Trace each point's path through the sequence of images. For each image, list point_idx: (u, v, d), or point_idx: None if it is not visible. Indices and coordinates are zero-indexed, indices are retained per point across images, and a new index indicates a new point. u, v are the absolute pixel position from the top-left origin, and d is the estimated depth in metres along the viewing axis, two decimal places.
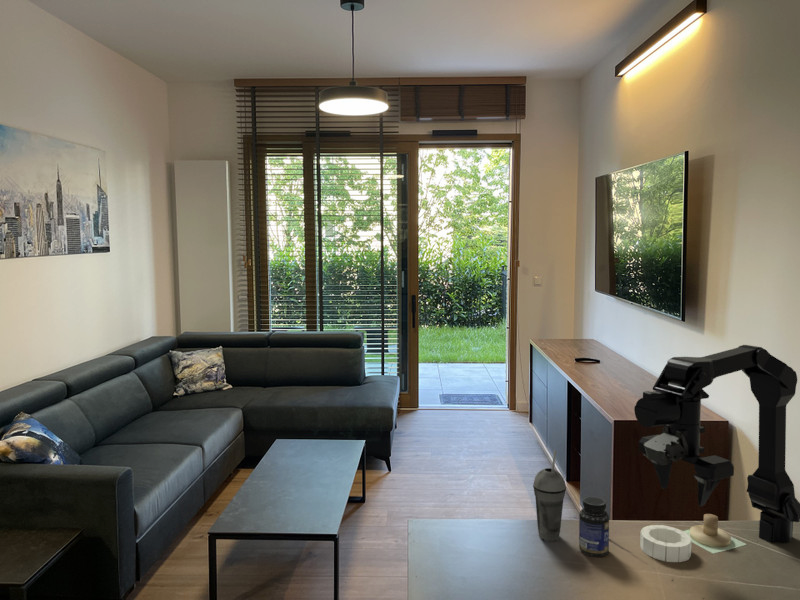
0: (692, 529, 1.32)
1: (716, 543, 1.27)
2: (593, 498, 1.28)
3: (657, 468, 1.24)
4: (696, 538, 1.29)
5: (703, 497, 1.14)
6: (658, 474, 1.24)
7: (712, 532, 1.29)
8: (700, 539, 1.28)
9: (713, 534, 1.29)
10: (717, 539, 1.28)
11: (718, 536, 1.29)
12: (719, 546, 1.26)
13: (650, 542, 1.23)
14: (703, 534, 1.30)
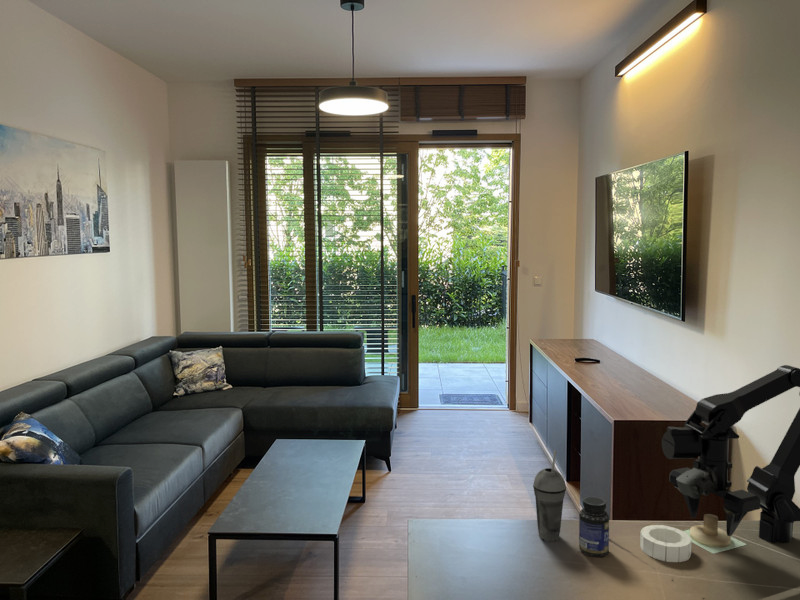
0: (692, 529, 1.32)
1: (716, 543, 1.27)
2: (593, 498, 1.28)
3: (687, 499, 1.34)
4: (696, 538, 1.29)
5: (731, 528, 1.25)
6: (688, 504, 1.34)
7: (712, 532, 1.29)
8: (700, 539, 1.28)
9: (713, 534, 1.29)
10: (717, 539, 1.28)
11: (718, 536, 1.29)
12: (719, 546, 1.26)
13: (650, 542, 1.23)
14: (703, 534, 1.30)
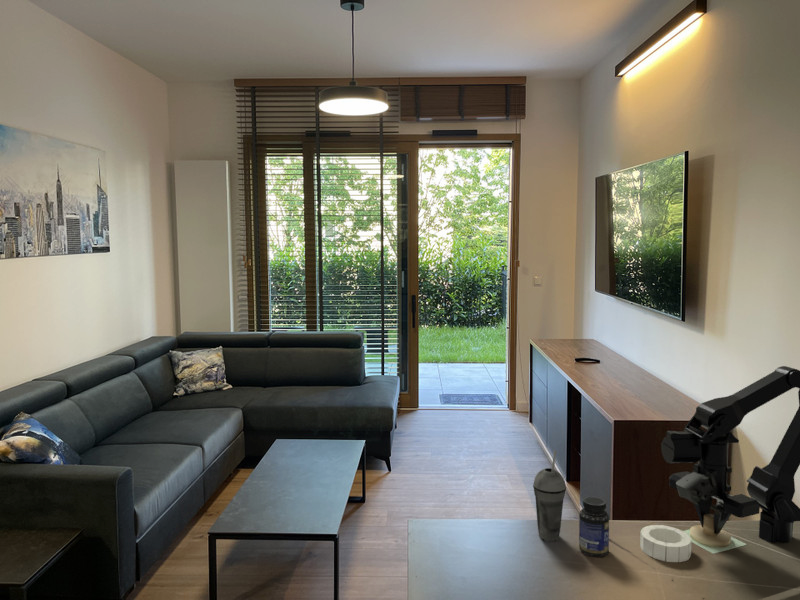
0: (692, 529, 1.32)
1: (716, 543, 1.27)
2: (593, 498, 1.28)
3: (698, 508, 1.32)
4: (696, 538, 1.29)
5: (718, 526, 1.28)
6: (699, 514, 1.32)
7: (712, 532, 1.29)
8: (700, 539, 1.28)
9: (713, 534, 1.29)
10: (717, 539, 1.28)
11: (718, 536, 1.29)
12: (719, 546, 1.26)
13: (650, 542, 1.23)
14: (703, 534, 1.30)
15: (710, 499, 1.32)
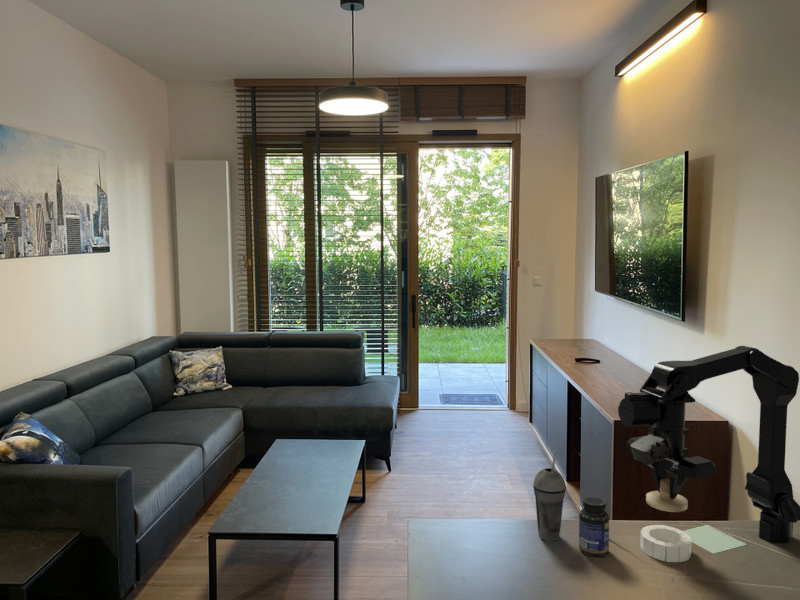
0: (649, 494, 1.27)
1: (671, 507, 1.21)
2: (593, 498, 1.28)
3: (654, 472, 1.26)
4: (651, 503, 1.24)
5: (674, 490, 1.22)
6: (655, 479, 1.26)
7: (668, 497, 1.23)
8: (655, 503, 1.23)
9: (669, 499, 1.23)
10: (673, 503, 1.22)
11: (674, 501, 1.23)
12: (674, 510, 1.21)
13: (650, 542, 1.23)
14: (659, 499, 1.24)
15: (667, 463, 1.27)
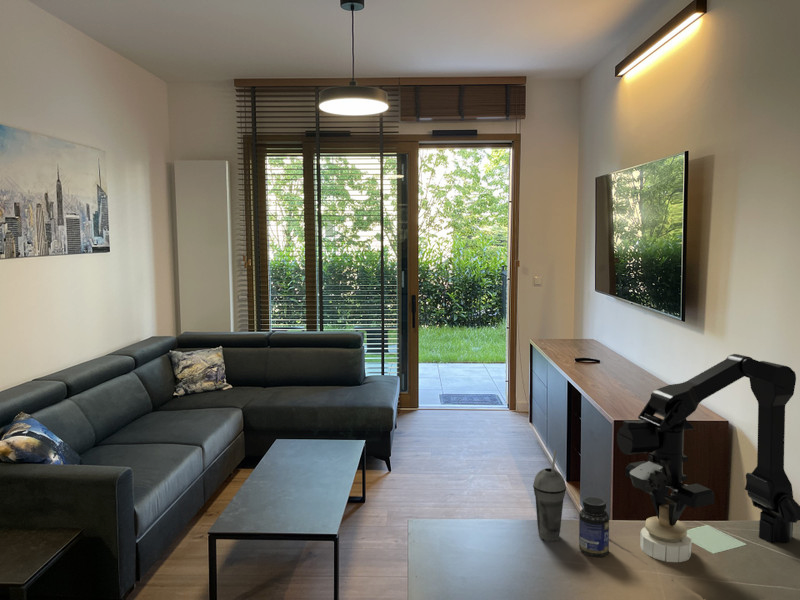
0: (648, 520, 1.27)
1: (670, 534, 1.21)
2: (593, 498, 1.28)
3: (653, 499, 1.27)
4: (651, 530, 1.24)
5: (673, 517, 1.23)
6: (654, 505, 1.27)
7: (667, 523, 1.24)
8: (655, 531, 1.23)
9: (668, 525, 1.24)
10: (672, 530, 1.23)
11: (674, 528, 1.24)
12: (674, 538, 1.21)
13: (650, 542, 1.23)
14: (658, 525, 1.25)
15: (666, 489, 1.27)
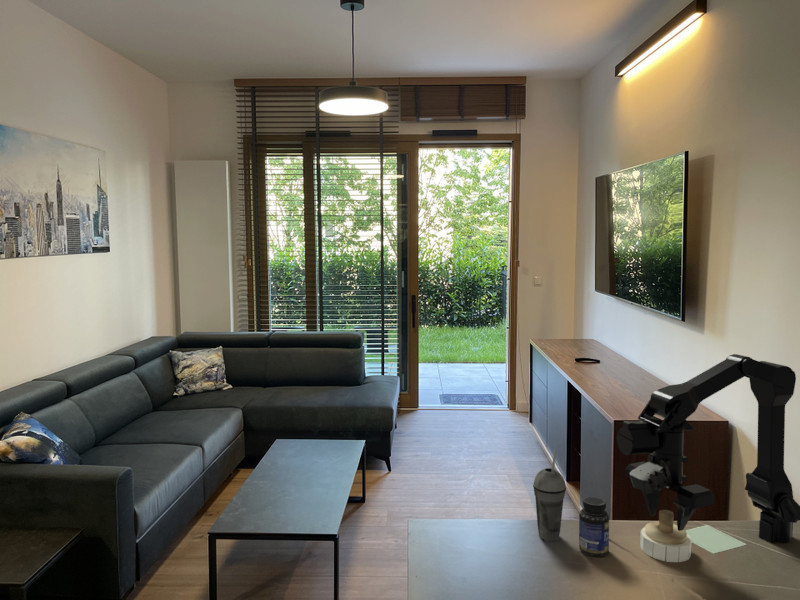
0: (648, 525, 1.27)
1: (670, 540, 1.21)
2: (593, 498, 1.28)
3: (646, 496, 1.29)
4: (650, 535, 1.24)
5: (682, 522, 1.21)
6: (647, 502, 1.29)
7: (667, 529, 1.24)
8: (654, 536, 1.23)
9: (668, 531, 1.24)
10: (672, 535, 1.23)
11: (673, 533, 1.24)
12: (673, 543, 1.21)
13: (650, 542, 1.23)
14: (658, 531, 1.25)
15: None
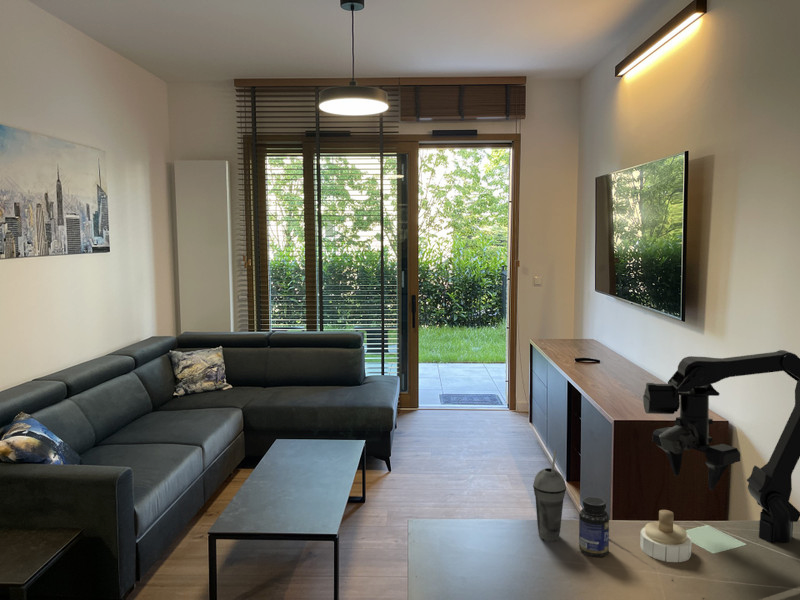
0: (648, 525, 1.27)
1: (670, 540, 1.21)
2: (593, 498, 1.28)
3: (670, 457, 1.37)
4: (650, 535, 1.24)
5: (713, 481, 1.28)
6: (671, 462, 1.37)
7: (667, 529, 1.24)
8: (654, 536, 1.23)
9: (668, 531, 1.24)
10: (672, 535, 1.23)
11: (673, 533, 1.24)
12: (673, 543, 1.21)
13: (650, 542, 1.23)
14: (658, 531, 1.25)
15: None
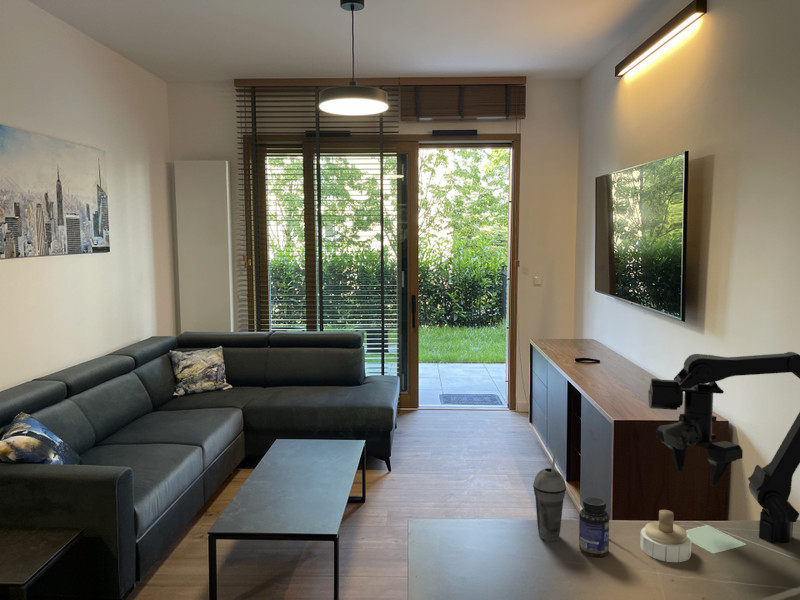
0: (648, 525, 1.27)
1: (670, 540, 1.21)
2: (593, 498, 1.28)
3: (673, 453, 1.39)
4: (650, 535, 1.24)
5: (715, 478, 1.29)
6: (674, 458, 1.39)
7: (667, 529, 1.24)
8: (654, 536, 1.23)
9: (668, 531, 1.24)
10: (672, 535, 1.23)
11: (673, 533, 1.24)
12: (673, 543, 1.21)
13: (650, 542, 1.23)
14: (658, 531, 1.25)
15: (685, 445, 1.40)
